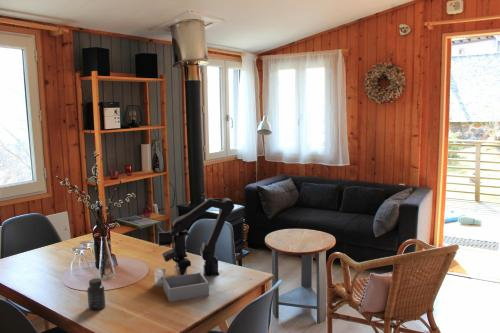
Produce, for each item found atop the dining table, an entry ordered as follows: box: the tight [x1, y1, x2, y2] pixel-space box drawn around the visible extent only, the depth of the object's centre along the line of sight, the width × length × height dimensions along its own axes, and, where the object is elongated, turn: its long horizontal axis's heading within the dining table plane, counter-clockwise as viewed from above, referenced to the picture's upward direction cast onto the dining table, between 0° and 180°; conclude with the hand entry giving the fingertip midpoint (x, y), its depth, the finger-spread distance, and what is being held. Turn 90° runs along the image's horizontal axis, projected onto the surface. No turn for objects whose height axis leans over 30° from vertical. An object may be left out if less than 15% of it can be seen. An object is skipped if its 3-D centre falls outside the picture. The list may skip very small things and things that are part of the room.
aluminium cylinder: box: [153, 267, 166, 287], centre depth 208 cm, size 5×5×7 cm
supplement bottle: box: [86, 277, 106, 312], centre depth 185 cm, size 7×7×12 cm
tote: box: [162, 271, 210, 303], centre depth 199 cm, size 18×14×6 cm
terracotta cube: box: [174, 265, 188, 276], centre depth 217 cm, size 5×5×5 cm
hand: (180, 274), depth 217 cm, fingers closed on terracotta cube, 5 cm apart
